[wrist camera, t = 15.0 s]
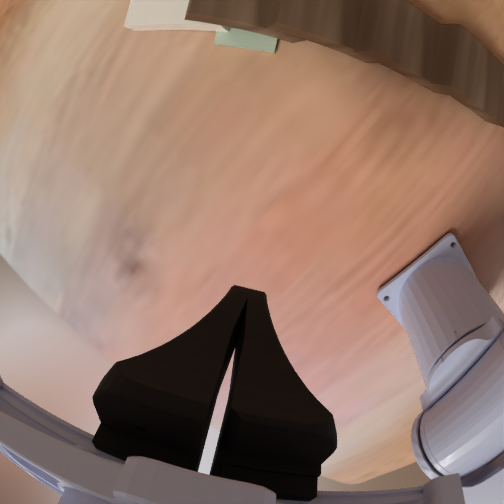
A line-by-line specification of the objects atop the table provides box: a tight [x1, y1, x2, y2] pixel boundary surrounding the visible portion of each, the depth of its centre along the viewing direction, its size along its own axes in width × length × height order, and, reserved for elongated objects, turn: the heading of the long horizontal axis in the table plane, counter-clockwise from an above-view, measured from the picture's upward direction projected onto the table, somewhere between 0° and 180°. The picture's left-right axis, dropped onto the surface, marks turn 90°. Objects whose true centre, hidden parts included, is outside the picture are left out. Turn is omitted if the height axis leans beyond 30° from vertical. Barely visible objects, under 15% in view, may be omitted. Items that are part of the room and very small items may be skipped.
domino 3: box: [267, 0, 378, 63], centre depth 13 cm, size 2×4×7 cm
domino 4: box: [354, 0, 449, 95], centre depth 13 cm, size 2×4×7 cm
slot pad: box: [214, 27, 278, 53], centre depth 15 cm, size 4×6×1 cm, turn 169°
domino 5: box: [430, 24, 504, 127], centre depth 13 cm, size 2×4×7 cm
